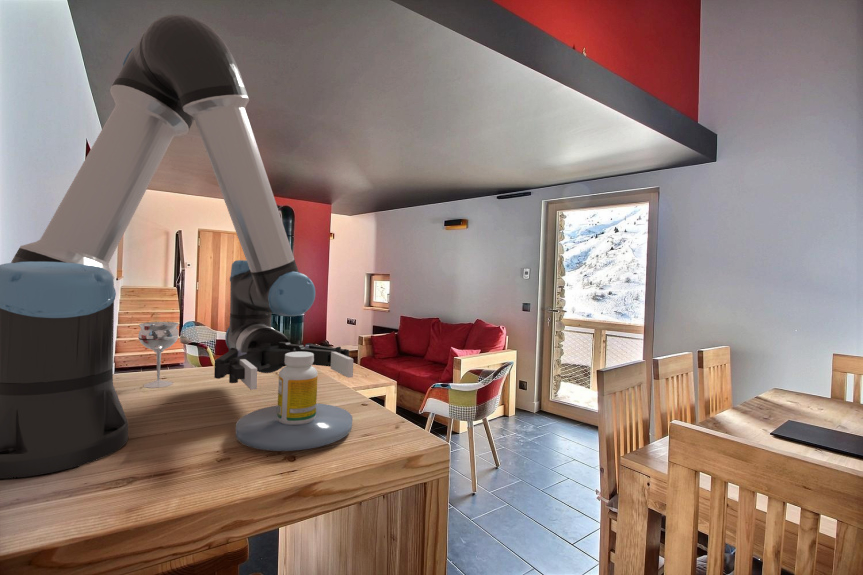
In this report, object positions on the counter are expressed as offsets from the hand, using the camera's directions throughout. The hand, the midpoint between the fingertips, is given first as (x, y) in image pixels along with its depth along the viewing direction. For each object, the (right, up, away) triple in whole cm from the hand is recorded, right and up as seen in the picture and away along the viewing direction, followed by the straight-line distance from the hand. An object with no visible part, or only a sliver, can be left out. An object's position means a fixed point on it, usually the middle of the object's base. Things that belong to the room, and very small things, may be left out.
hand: (305, 373), depth 59 cm
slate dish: (-2, -9, +3) cm, 10 cm away
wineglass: (-37, -8, +26) cm, 45 cm away
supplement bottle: (-2, -8, +3) cm, 8 cm away
